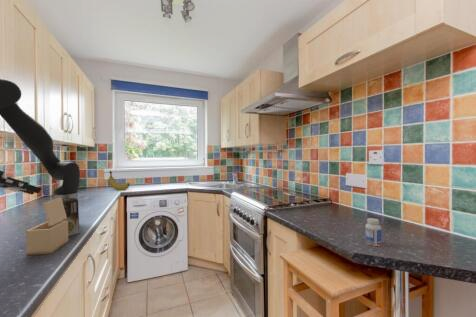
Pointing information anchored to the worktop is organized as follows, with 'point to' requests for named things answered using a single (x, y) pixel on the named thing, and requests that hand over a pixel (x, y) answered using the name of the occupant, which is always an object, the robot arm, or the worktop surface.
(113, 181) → the banana
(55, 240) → the carton
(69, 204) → the coffee box
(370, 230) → the pill bottle
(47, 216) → the carton flap
